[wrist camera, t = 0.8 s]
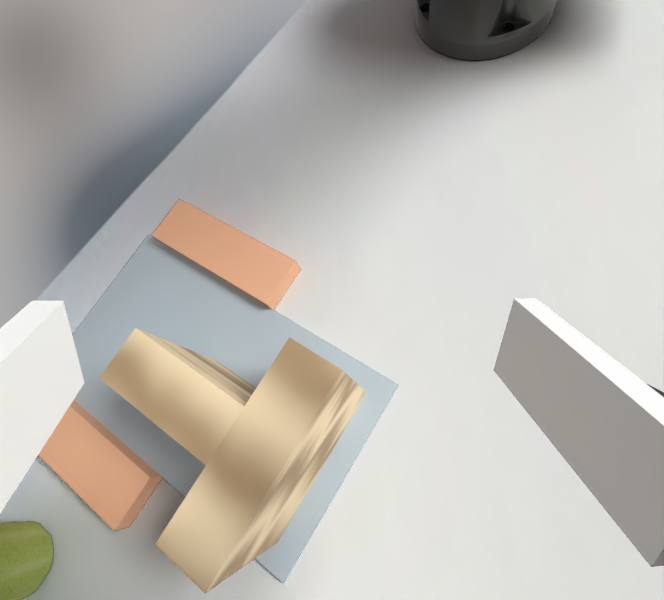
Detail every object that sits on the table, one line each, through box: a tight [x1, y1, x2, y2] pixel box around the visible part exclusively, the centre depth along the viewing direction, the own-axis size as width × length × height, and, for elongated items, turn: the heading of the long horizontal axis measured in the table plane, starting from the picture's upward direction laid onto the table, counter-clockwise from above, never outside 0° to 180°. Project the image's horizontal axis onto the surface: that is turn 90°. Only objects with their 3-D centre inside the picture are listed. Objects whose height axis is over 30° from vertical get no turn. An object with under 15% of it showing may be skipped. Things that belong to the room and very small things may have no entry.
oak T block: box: [99, 328, 367, 593], centre depth 31 cm, size 14×14×12 cm
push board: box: [38, 199, 398, 583], centre depth 39 cm, size 28×32×2 cm
